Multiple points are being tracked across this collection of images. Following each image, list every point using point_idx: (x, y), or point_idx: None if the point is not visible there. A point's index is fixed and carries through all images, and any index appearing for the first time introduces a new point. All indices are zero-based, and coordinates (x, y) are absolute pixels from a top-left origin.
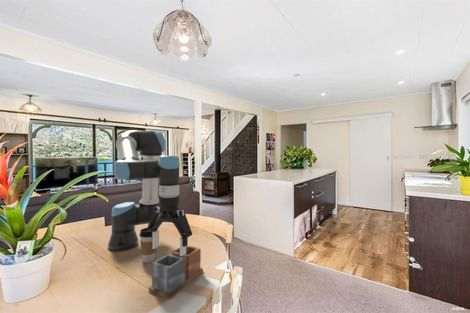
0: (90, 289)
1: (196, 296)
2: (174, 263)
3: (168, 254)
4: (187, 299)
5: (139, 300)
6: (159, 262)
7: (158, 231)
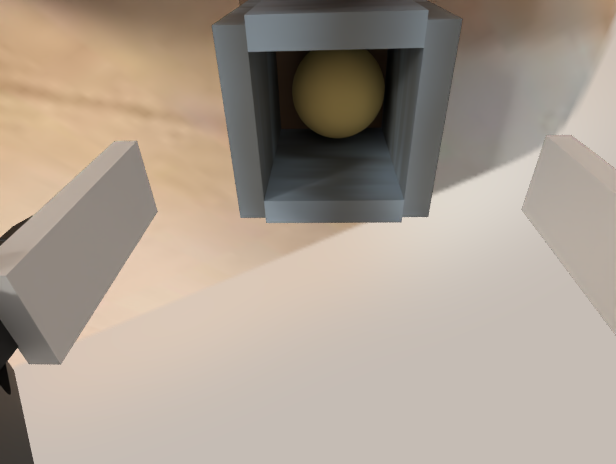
0: None
1: (539, 55)
2: (416, 150)
3: (224, 26)
4: (497, 102)
5: None
6: (261, 162)
7: (21, 276)
